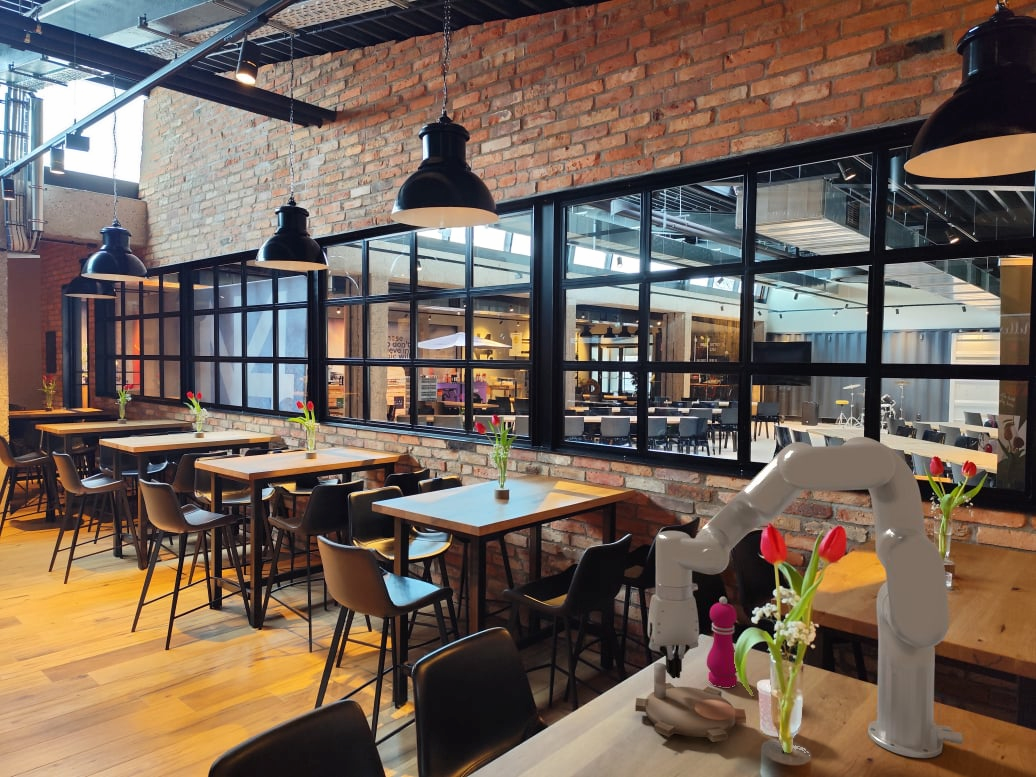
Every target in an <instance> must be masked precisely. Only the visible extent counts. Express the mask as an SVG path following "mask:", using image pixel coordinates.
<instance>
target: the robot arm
mask: <svg viewBox="0 0 1036 777" xmlns="http://www.w3.org/2000/svg"><path fill="white" fill-rule="evenodd" d="M854 490H868V492H869V495H870V499H871V507H872V512H873V513H872V514H873V524H874V535H875V540H874V541H875V554H876V557H877V559H878V561H879V562H880V564H881V566H883V568H884V571H885V579H886V581H885V582H883V584H882V585H881V586H880V588H879V590H878V591H877V595H876V605H875V606H876V607H875V608H876V619H877V638H878V644H877V645H878V646H877V647H878V648H877V650H878V651H877V655H878V656H877V702H876V703H877V704H876V706H877V707H876V709H877V711H876V714H877V715H876V717H877V718H876V719H875V720H873V721H871V722H870V723H869V724H868V728H867V732H868V736H869V738H870V739H871V740H872V741H873V742H874V743H875V744H877V745H878V746H880V747H881V748H883V749H885V750H887V751H889V752H892V753H895V754H898V755H901V756H904V757H909V758H916V759H928V758H929V759H930V758H935V757H937V756H939V755H940V754H942V751H943V743H944V742H948V743H949V742H950V743H953V744H958V745H963V743H964V739H963V734H962V732H957V731H953V728H952V726H948V725H947V726H946V725H938V723H936V722H935V720H934V719H935V718H934V713H935V712H934V711H935V710H934V708H935V668H936V667H935V666H936V665H935V664H936V663H935V658H936V655H935V654H936V653H935V652H936V651H935V649H936V648H935V646H937V645H938V644H941V642H942V641H943V640H944V639H945V637H947V634H948V631H949V627H950V609H949V598H948V597H949V596H948V588H947V586H948V585H947V577H946V576H947V575H946V568H945V563H944V559H943V556H942V554H941V552H940V550H939V548H938V547H937V545H935V543H934V542H933V541H932V540H931V539H930V538H929V537H928V535H927V532H926V524H925V515H924V509H923V503H922V496H921V492H920V487H919V484H918V481H917V479H916V476H915V474H914V472H913V471H912V469H911V468H910V466H909V465H908V464H907V462H906V461H905V460H904V458H902V457H901V456H900V455H899V453H897V452H896V451H895V450H894V449H892V448H891V447H889V446H888V445H885V444H884V443H882V442H879V441H877V440H875V439H873V438H870V437H866V436H855V437H851V438H849V439H847V440H846V441H845V442H844V443H843V444H842V445H826V446H825V445H823V446H820V445H819V446H813V445H811V444H809V443H806V442H802V441H795V442H792V443H789V444H788V445H785V447H783V448H782V449H780V451H779V452H778V453H777V454H776V455H775V456H774V457H773V458H772V459H771V461H769V462H768V463H767V464H766V465H765V466H764V467H763V468H762V469H761V471H759V472H758V473H757V474H756V475H755V476H754V477H753V478H752V479H751V480H750V481H749V483H747V484H746V485H745V486H744V487H743V489H741V490H740V491H739V492H738V493H736V495H734V497H733V498H732V499H731V500H730V501H729V502H728V503H726V504H725V505H724V506H723V507H722V508H721V509H720V510H719V511H718V512H717V513H716V514H715V515H714V516H713V517H712V518H711V519H710V520H709V521H708V522H707V523H706V524H705V525H704V526H703V527H702V528H701V529H700V530H699V531H698V532H697V533H696V536H695V538H693V537H691V536H690V535H689V534H688V533H686V532H683V531H680V530H679V531H678V530H666V531H661V532H659V533H658V534H657V535H656V538H655V594H652V595H651V598H650V603H649V611H648V618H647V636H648V638H649V642H648V648H649V649H650V650H651V651H654V652H661V653H662V654H663V655H664V657H665V665H666V674H668V675H669V677H671V679H680V678H681V673H682V670H683V667H682V666H683V662H682V661H683V659H684V658H685V655H686V654H687V653H688V652H689V650H692V649H696V648H698V647H699V638H700V627H699V626H700V625H699V624H700V623H699V615H698V608H697V603H696V598H695V596H694V591H698V590H699V587H698V586H699V585H698V584H697V583H694V582H693V572H697V573H701V574H705V575H716V574H717V575H718V574H720V573H722V572H724V570H726V569H727V567H728V566H729V563H730V552H731V551H732V550H733V548H734V547H736V546H737V544H739V543H740V541H741V540H742V539H744V537H746V536H747V535H748V534H749V533H750V532H752V531H753V530H755V529H756V528H758V527H759V526H762V525H766V524H769V523H771V522H773V521H775V520H776V519H777V518H778V517H779V516H780V515H781V514H782V513H783V512H784V511H785V510H786V509H787V508H788V507H789V506H791V504H792V503H793V502H794V501H795V500H796V499H797V498H799V496H800V495H801V494H802V493H804V492H831V491H832V492H835V491H854ZM673 647H674V648H673Z"/></svg>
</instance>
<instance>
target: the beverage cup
mask: <svg viewBox="0 0 1036 777" xmlns="http://www.w3.org/2000/svg"><path fill="white" fill-rule="evenodd" d="M756 687H757V688H756V689H757V691H758V704H759V705H758V706H759V721H760V722H759V723H760V731H761V730H762V731H763V732H762V731H761V732H762V733H763V734H765V735H767V736H770V737H779V736H778V733H777V731H776V730H775V729H774V727H773V724H772V715H771V693H770V692H771V685H770V679H761V680H758V681H757V683H756Z"/></svg>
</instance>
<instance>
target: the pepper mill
mask: <svg viewBox="0 0 1036 777" xmlns="http://www.w3.org/2000/svg"><path fill="white" fill-rule="evenodd" d="M718 600H719V602H716V603H714V604H713V605H712V606H711V607H710V610H709V618H710V620H711V622H712V623H711V631H713V641H712V645H711V648H710V650H709V651H708V653H707V657H706V666H707V669H708V670H709V671H708V682H709V681H710V682H711V683H712V684H713V685H716V686H721V687H732V686H734V685H736V683H737V684H738V676H737V675H736V674H737V673H738V671H736V668H735V664H734V652H736V650H735V647H734V645H733V634H734V633H735V625H734V623H735V622H736V621H737V620H738V616H737V615H738V614H737V611H736V609H735V607H734V606H733V605H732V604H730V603H728V599H727V597H725V596H721V597H720V598H719V599H718ZM710 682H709V683H710ZM711 683H710V684H711ZM712 684H711V685H712ZM713 685H712V686H713ZM716 686H715V687H716ZM736 686H737V685H736Z"/></svg>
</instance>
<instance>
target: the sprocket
mask: <svg viewBox="0 0 1036 777" xmlns="http://www.w3.org/2000/svg"><path fill="white" fill-rule="evenodd" d="M653 667H654V669H653V670H654V671H653V672H654V673H653V676H654V677H653V687H654V688H653V692H651V693H650V694H648V696H647V697H646V698H643V697H636V698H635V704H634V705H635V706H634V707H635V709H634V710H635V712H642V713H643V712H644V713H645V714H646V716H647V718H648V719H649V720H650V722H652V723H653V724H654V732H656V733H658V734H660V735H664V736H666V737H668V738H669V737H671V736H673V734H677V735H681V736H682V735H683V736H688V737H695V738H697V737H698V738H700V737H701V738H705V737H707V738H708V739H709V741H711V742H712V743H715V742H721V741H727V740H728V731H730V730H732V728H733V727H734V726H735V724H736V723H742V724H747V715H746V710H745V708H735V707H734V706H733V704H731V702H729V701H728V700H727V699H726V698H724V697H723V696H722V690H719V689H716V688H713V687H710V686H707V687H705V688H704V689H702V688H697V687H692V686H674V685H673V684H672V683H671V682H667V680H666V678H667V675H666V674H667V671H666V663H662V662H656V663H654V665H653Z"/></svg>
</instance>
